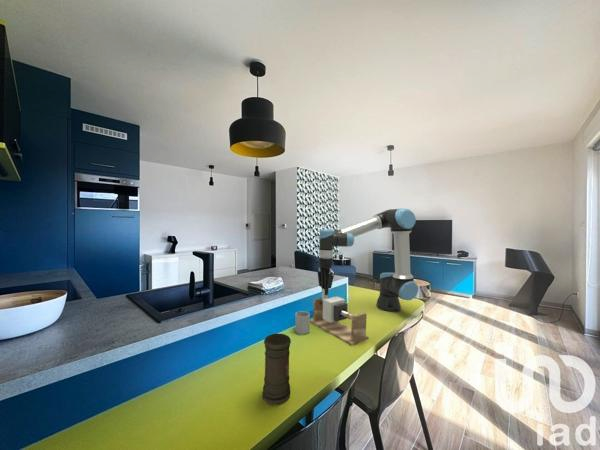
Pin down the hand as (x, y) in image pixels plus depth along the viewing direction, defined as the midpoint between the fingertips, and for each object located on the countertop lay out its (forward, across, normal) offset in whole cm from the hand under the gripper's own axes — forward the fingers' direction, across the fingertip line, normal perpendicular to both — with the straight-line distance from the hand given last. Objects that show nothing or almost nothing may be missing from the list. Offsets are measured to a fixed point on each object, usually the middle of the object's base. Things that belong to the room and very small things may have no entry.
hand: (324, 300), depth 133 cm
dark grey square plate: (+6, +12, 0) cm, 14 cm away
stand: (+13, +10, 0) cm, 16 cm away
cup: (+13, 0, -16) cm, 20 cm away
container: (+13, +33, -50) cm, 61 cm away
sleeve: (+8, +7, 0) cm, 10 cm away
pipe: (+4, +10, 0) cm, 11 cm away
